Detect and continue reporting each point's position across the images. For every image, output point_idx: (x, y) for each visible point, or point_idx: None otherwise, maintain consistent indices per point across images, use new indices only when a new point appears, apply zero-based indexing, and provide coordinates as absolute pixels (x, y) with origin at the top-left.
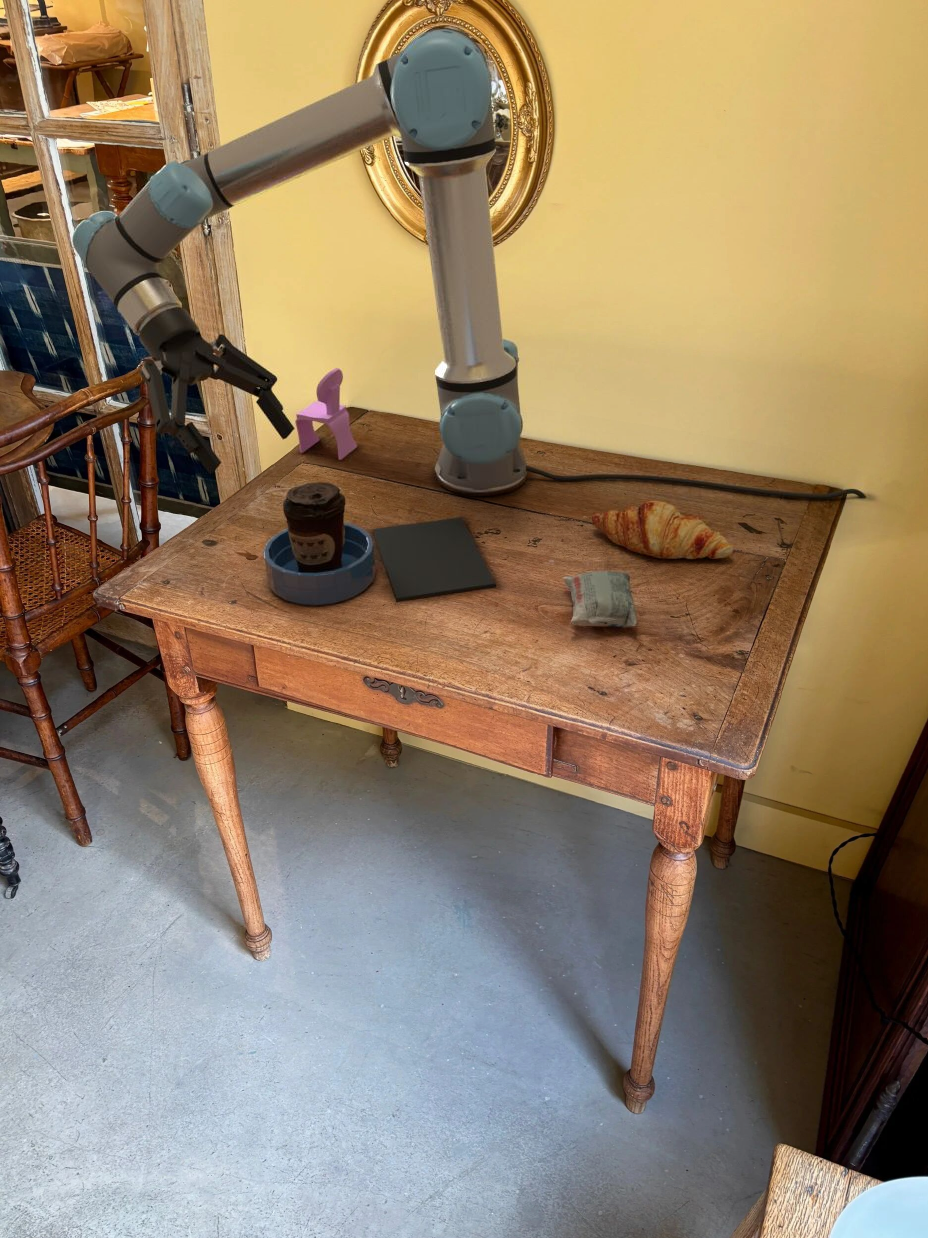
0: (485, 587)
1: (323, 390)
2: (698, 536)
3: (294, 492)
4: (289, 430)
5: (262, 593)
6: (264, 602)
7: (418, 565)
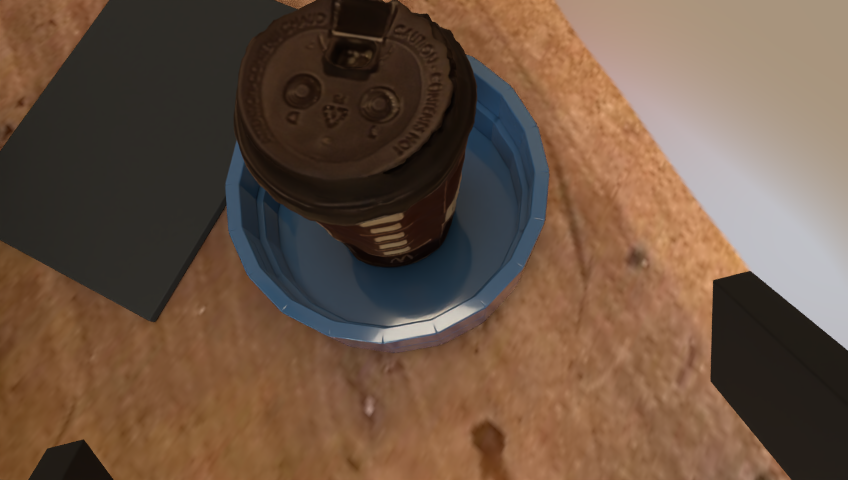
0: None
1: None
2: None
3: (395, 133)
4: (90, 453)
5: (556, 247)
6: (571, 207)
7: (202, 96)
